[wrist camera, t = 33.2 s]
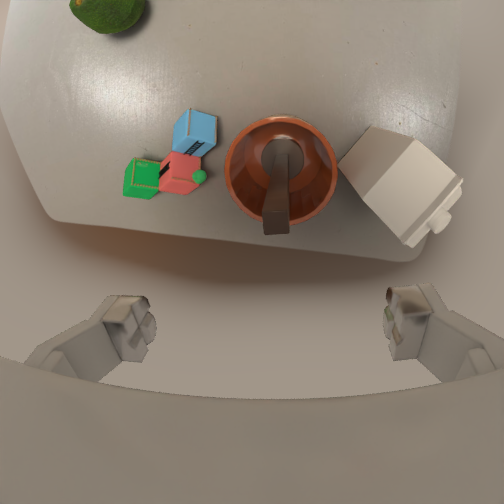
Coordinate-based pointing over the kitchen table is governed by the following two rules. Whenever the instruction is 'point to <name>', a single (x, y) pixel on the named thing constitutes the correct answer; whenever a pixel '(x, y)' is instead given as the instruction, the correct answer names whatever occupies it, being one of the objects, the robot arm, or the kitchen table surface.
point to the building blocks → (175, 160)
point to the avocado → (108, 14)
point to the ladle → (279, 182)
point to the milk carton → (402, 183)
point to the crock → (257, 180)
